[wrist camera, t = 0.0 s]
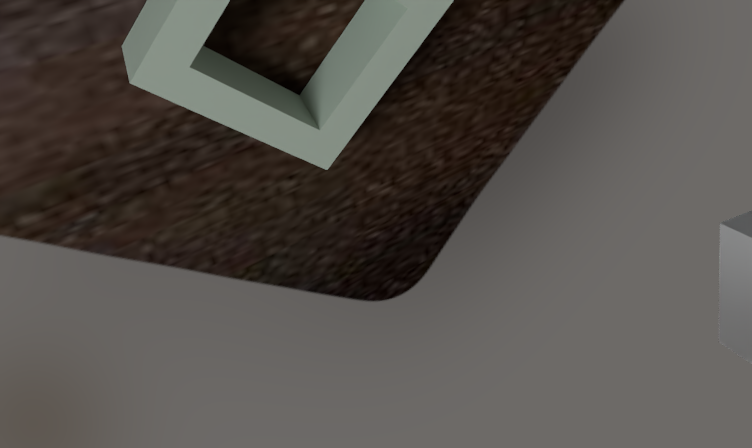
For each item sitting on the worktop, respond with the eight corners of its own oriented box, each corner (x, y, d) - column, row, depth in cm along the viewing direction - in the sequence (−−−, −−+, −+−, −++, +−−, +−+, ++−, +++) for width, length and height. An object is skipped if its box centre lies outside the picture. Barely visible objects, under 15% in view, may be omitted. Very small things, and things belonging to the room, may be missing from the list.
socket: (245, -176, 29) (267, -157, 26) (425, -32, 37) (457, -6, 34) (121, 46, 33) (129, 83, 31) (307, 134, 41) (327, 170, 38)
